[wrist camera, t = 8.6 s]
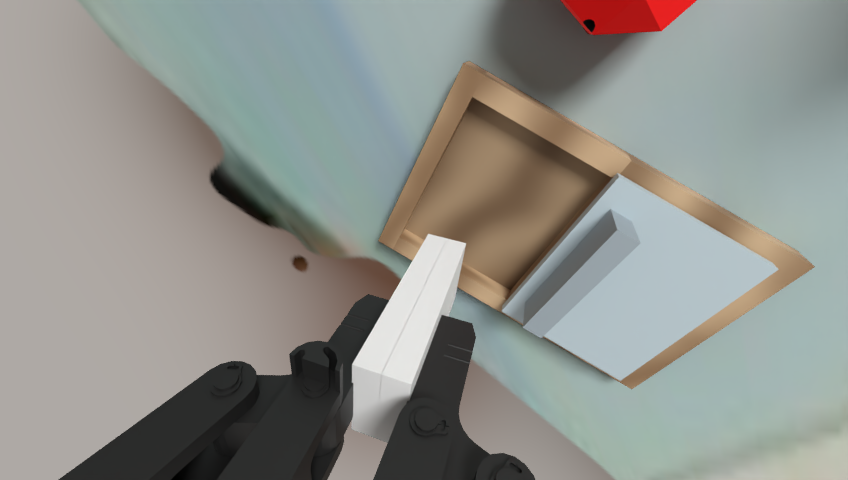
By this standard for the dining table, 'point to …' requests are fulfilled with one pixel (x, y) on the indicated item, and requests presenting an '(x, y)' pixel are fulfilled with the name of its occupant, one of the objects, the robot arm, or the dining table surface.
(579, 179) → the wooden box
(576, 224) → the slide cover
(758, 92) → the dining table surface
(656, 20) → the ball
